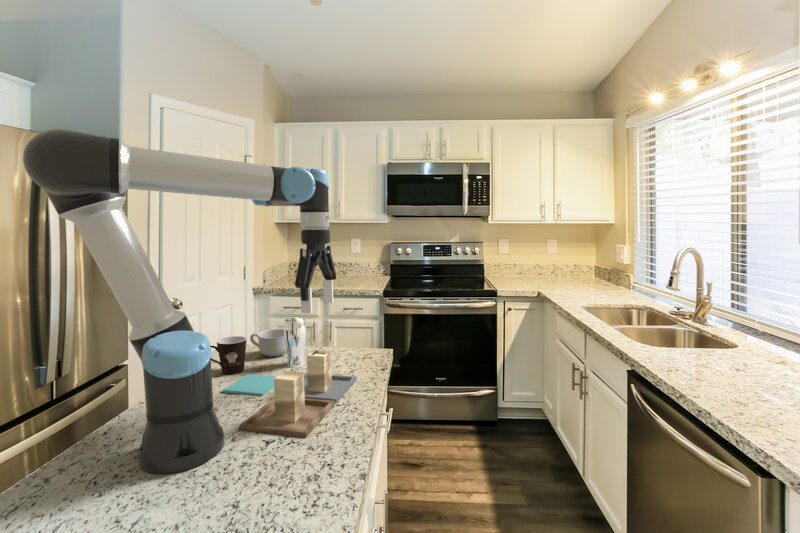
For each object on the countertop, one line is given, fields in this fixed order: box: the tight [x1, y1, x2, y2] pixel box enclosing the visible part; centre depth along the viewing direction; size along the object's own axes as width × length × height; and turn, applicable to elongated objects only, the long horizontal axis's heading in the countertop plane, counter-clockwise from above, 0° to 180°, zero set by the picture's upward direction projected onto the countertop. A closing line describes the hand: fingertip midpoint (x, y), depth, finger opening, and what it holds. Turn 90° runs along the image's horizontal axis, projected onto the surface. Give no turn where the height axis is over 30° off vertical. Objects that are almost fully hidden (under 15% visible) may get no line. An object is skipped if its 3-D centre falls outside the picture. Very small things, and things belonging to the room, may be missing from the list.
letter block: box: [306, 349, 333, 392], centre depth 111 cm, size 5×5×10 cm
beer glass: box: [283, 316, 307, 368], centre depth 131 cm, size 7×7×15 cm
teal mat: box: [222, 373, 278, 397], centre depth 113 cm, size 12×12×1 cm
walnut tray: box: [239, 397, 336, 438], centre depth 95 cm, size 16×16×1 cm
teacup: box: [249, 328, 287, 358], centre depth 142 cm, size 14×11×8 cm
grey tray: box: [304, 371, 358, 404], centre depth 111 cm, size 16×16×1 cm
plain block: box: [273, 370, 305, 422], centre depth 94 cm, size 5×5×10 cm
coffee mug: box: [210, 335, 247, 376], centre depth 125 cm, size 12×9×10 cm
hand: (318, 307), depth 108 cm, fingers open, 13 cm apart
